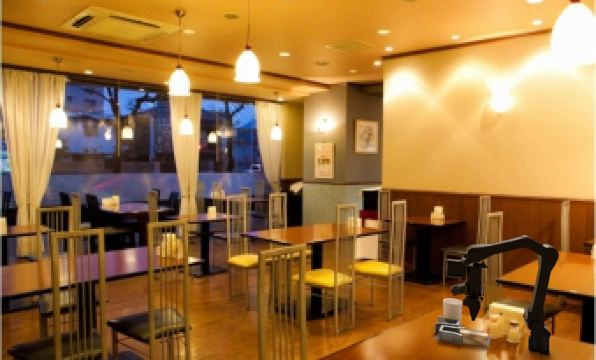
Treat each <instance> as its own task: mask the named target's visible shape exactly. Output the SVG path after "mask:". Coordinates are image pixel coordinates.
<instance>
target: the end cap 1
mask: <svg viewBox="0 0 596 360" xmlns="http://www.w3.org/2000/svg"><path fill="white" fill-rule="evenodd" d="M437 320H438V321H437V322H434V334H437V333H439V329H440V327H441V325H446V326H453V327H461V324H460V320H457V319H450V318H444V316H441V315H438V319H437Z"/></svg>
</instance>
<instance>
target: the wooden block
mask: <svg viewBox="0 0 596 360" xmlns="http://www.w3.org/2000/svg"><path fill="white" fill-rule="evenodd" d="M469 330H470V329H469ZM469 330H462V329H461V330H460V334H461V335H463V343H466V344H472V345H478V346H484V347H487V346H488V333H482V332H476V331H477V330H476V331H469Z"/></svg>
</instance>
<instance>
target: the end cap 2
mask: <svg viewBox="0 0 596 360" xmlns="http://www.w3.org/2000/svg"><path fill="white" fill-rule="evenodd" d="M461 329H462V330H465V329H466V327H465V326H460V327H453V326H446V325H441V327H440V329H439V340H438V342H445V343H449V344H454V345H457V346H461V347H463V346H464V345H463V335H461V334H460V330H461Z"/></svg>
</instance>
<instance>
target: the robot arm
mask: <svg viewBox="0 0 596 360" xmlns="http://www.w3.org/2000/svg"><path fill="white" fill-rule="evenodd" d="M525 248H526V249H528V250H530V251H531V252H533V253H535V254H536V255H537V272H536V276H535V277H536V278H535V283H534V288H533V293H532V297H531V301H530V304H529V306H528V307H527V306H524V308H523V314H522V315H521V316H522V318H523V321H524V323H525V325H526V327H527V328H528V329H529V331H530V333H529V335H528V340H527V343H528V345H527V347H528V349H529V352H532V353H538V354H540V355H548V356H549V355H551V352H550V338H551V335H552V332H551V331H550V330H549V328H548V326H547V325H546V323H545V321H546V320H545V310H544V309H545V302H546V299H547V294H548V288H549V284H550V278H551V274H552V272H553V270H554V268H555V266H556V264H557V263H558V261H559V258H560V254H559V251H558V250H557V249H556V248H555V247H554V246H552V245H551V244H548V243H544V244H543V243H542V242H539V241H537V240H536V239H532V238H531V237H530V236H528V235H521V236H519V237H514V238H510V239H506V240H505V239H504V240H502V241H497V242H494V243H487V244H486V243H477V244H471V245H469V246H467V248H466V251H465V254H463V256H462V257H461V259H451V258H448V259H446V266H445V267H446V268H445V270H446V275H445V276H446V277H447V278H458V279H459V278H461V279H462V278H463V277H464V276H466V279H465V282H463V283H462V282H461V283H458V284H453V285H452V286H451V287H450V293H451V294H452V296H453V297H456V296H459V295H464V298H463V300H462V307H466V308H468V311H469V314H470V315H469V316H470V319H471V321H472V322H476V319H477V317H478V314H479V313H480V310H481V308H482V306H483V304H482V303H483V301H484V297H485V294H486V292H485V289H484V287H483V283H484V282H483V281H484V280H483V269H488V268H489V266H488V265H487V264H486V262H485V260H486V259H489V258H490V257H492V256H495V255H499V254H503V253H507V252H512V251H516V250H517V251H518V250H520V249H521V250H522V249H525ZM465 273H466V274H465Z"/></svg>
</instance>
